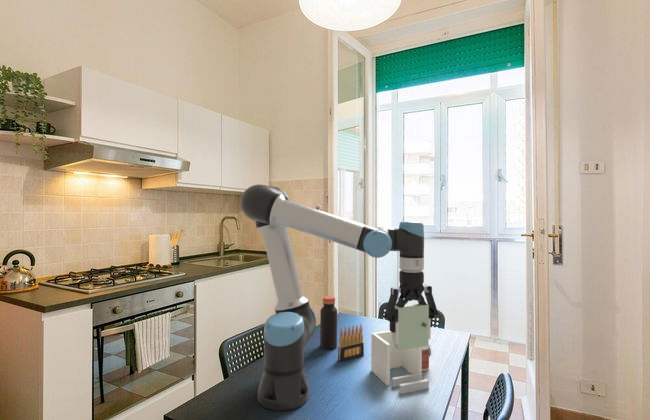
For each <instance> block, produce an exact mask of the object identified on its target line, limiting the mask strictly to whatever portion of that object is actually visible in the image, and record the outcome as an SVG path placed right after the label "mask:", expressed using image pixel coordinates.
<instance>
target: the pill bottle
mask: <svg viewBox="0 0 650 420" xmlns="http://www.w3.org/2000/svg"><path fill="white" fill-rule="evenodd" d="M429 346H430V345H429ZM429 346H424V347H422V372H425V371H428V370H429V369H430V355H429Z"/></svg>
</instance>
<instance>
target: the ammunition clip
mask: <svg viewBox="0 0 650 420" xmlns="http://www.w3.org/2000/svg"><path fill="white" fill-rule="evenodd" d="M343 330H344V331H343ZM364 343H365V342H364V336H363V326H362V324H360V325H358V324H356V325H355V327H354V325H353V326H352V328H351V326H348V328H347V327H345V328H344V329H343V328H342V327H341V328H340V332H339V340H338V351H337V352H338V353H337V361H339V362H347V361H350V360H354V359H358V358H362V357H364V355H365V351H364V347H365V346H364Z"/></svg>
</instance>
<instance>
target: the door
mask: <svg viewBox="0 0 650 420" xmlns="http://www.w3.org/2000/svg"><path fill="white" fill-rule="evenodd" d="M426 304H427V305H422V304H419V303H418V302H417V303H410V304H408V303H407V304H405V306H404V307H403V308H399V307H397V306H396V305H395V309H397V310H398V319H397V322H398V323H399V333H398V344H395V343H394V348H396V349H397V350H405V349H411V348H417V347H424V346H430V344H429V343H430V342H429V340H430V339H429V305H428V303H426Z"/></svg>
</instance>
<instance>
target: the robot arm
mask: <svg viewBox="0 0 650 420" xmlns="http://www.w3.org/2000/svg"><path fill="white" fill-rule="evenodd" d="M240 207H241V210H242V212H243V214H244V215H245V217H246V218H248V219H250V220H252V221H254V223H255V226H256V229H257V230H258V231H259V232H261V233H262V235H263V236H262V237H263V242H264V245H265V250H266V254H267V260H268V263H269V264H268V265H269V269H270V272H271V277H272V282H273V285H274V291H275V295H276V299H277V302H276V305H275V306H274V311H275V313H274V314H272V315H271V316H269V317H268V318H267V319H266V321H265V323H264V329H263V362H264V363H263V373H262V377H261V379H260V382H259V386H258V388H257V402H258V403H259V404H260V405H261V406H262V407H263V408H266V409H268V410H272V411H290V410H291V411H292V410H294V409H297V408H299V407H302V406H303V405H305V403H307V402H308V400H309V396H310V389H309V388H310V386H309V383H308V381H307V377H306V374H305V371H304V348H305V345H306V344H307V343H308V341H309V340H310V338H311V337H312V336H313V334H314V333H315V330H316V326H317V317H316V314H315V311H314V310H313V308H312V307H311V306H310V302H309V299H308V298H307V297H306V296H304V294H303V292H302V291H303V290H302V286H301V282H300V277H299V274H298V269H297V264H296V260H295V257H294V252H293V247H292V242H291V237H290V233H289V229H290V228H291V229H294V230H297V231H299V232H303V233H305V234H308V235H312V236H315V237H318V238H320V239H324V240H327V241H329V242H333V243H336V244H339V245H343V246H345V247H347V248H348V247H349V248H352V249H355V250H357V251H360V252H363V253H365V254H367V255H368V256H370V257H372V258H376V259H378V258H384V257H385V256H386V255H388V254H389V253H390V252H399V256H398V257H399V261H398V262H399V263H398V264H399V265H398V266H399V267H398V268H399V269H400V270H399V273H398V275H399V277H398V278H399V279H398V280H399V287H396V288H395V287H391V288H390V296H389V299H388V302H387V305H386V308H385V311H384V314H383V319H385V320H386V321H388V322H389V331H391V332H392V341H393V342H394V343H395V344H398V333H399V323H398V322H397V319H398V310H397V309H395V306H397V307H399V308H403V307H404V306H405V305H407V304H408V302H412V301H417V303H419V304H422V305H427V304H428V305H429V340H431V332H432V331H431V328H433V319H435V318H436V316H439V315H438V314H439V312H438V308H437V305H436V301H435V299H434V295H433V287H432V286H431V285H429V284H424V283H425V272H424V270H425V232H424V231H425V229H424V224H423V222H421V221H415V220H414V221H412V220H411V221H409V220H408V221H407V220H406V221H404V220H403V221H400V222H399V226H397V227H382V226H381V227H380V226H379V227H378V226H377V227H376V226H371V225H366V224H363V223H360V222H357V221H354V220H351V219H349V218H348V219H347V218H344V217H341V216H338V215H335V214H332V213H328V212H325V211H323V210H319V209H317V208H314V207H309V206H308V205H307V206H306V205H303V204H300V203H298V202H295V201H291V200H290V199H289V196H288V195H287V193H286V192H285V191H284V190H282V189H280V188H279V187H277V186H274V185H266V184H265V185H264V184H254V185H251V186H249V187H247V189H245V190H244V191H243V193H242V195H241V197H240ZM288 228H289V229H288ZM423 293H424V296H425V298H424V296H423ZM425 299H426V301H425Z"/></svg>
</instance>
